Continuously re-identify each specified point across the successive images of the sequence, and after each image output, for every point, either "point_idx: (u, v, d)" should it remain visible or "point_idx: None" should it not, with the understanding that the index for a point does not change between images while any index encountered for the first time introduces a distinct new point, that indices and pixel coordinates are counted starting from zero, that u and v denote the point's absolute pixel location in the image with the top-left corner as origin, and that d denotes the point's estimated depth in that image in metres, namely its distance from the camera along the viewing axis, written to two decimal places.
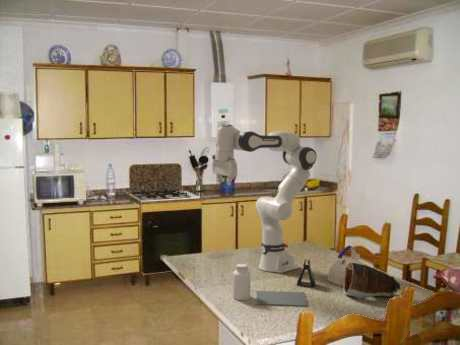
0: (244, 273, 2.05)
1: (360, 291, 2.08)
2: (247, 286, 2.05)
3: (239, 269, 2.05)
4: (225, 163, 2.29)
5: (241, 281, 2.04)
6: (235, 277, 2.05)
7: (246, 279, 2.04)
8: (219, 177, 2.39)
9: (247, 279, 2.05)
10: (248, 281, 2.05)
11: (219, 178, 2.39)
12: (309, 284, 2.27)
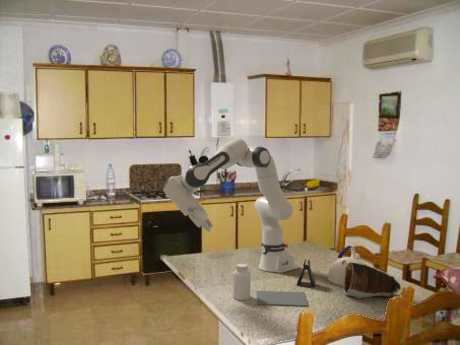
0: (244, 273, 2.05)
1: (360, 291, 2.08)
2: (247, 286, 2.05)
3: (239, 269, 2.05)
4: None
5: (241, 281, 2.04)
6: (235, 277, 2.05)
7: (246, 279, 2.04)
8: (207, 222, 2.17)
9: (247, 279, 2.05)
10: (248, 281, 2.05)
11: (208, 223, 2.17)
12: (309, 284, 2.27)
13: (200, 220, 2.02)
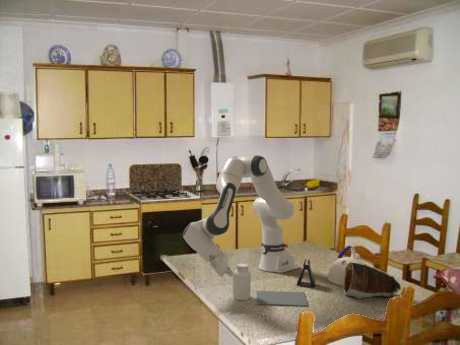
0: (244, 273, 2.05)
1: (360, 291, 2.08)
2: (247, 286, 2.05)
3: (240, 269, 2.05)
4: None
5: (241, 281, 2.04)
6: (235, 277, 2.05)
7: (246, 279, 2.04)
8: None
9: (248, 279, 2.05)
10: (248, 281, 2.05)
11: None
12: (309, 284, 2.27)
13: (222, 269, 1.98)
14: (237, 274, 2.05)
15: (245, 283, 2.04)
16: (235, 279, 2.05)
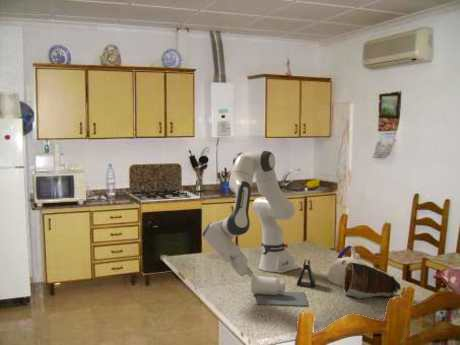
0: (277, 285, 2.08)
1: (360, 291, 2.08)
2: (264, 286, 2.08)
3: (281, 282, 2.09)
4: None
5: (271, 280, 2.09)
6: None
7: (271, 285, 2.07)
8: (247, 270, 2.09)
9: (271, 287, 2.07)
10: (269, 288, 2.07)
11: None
12: (309, 284, 2.27)
13: (243, 269, 1.97)
14: (277, 279, 2.10)
15: (268, 283, 2.08)
16: None
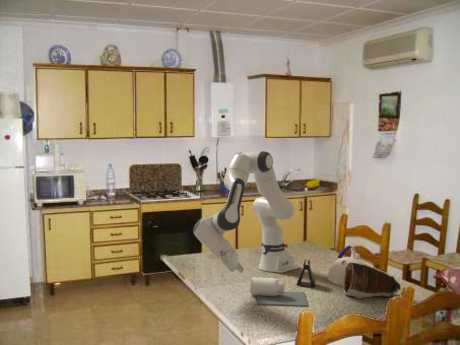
0: (277, 288, 2.06)
1: (360, 291, 2.08)
2: (263, 290, 2.07)
3: (280, 283, 2.07)
4: None
5: (269, 283, 2.07)
6: (273, 279, 2.09)
7: (270, 288, 2.06)
8: (238, 265, 2.09)
9: (270, 290, 2.06)
10: (268, 291, 2.06)
11: None
12: (309, 284, 2.27)
13: (233, 265, 1.97)
14: (276, 280, 2.08)
15: (267, 287, 2.06)
16: (271, 279, 2.09)
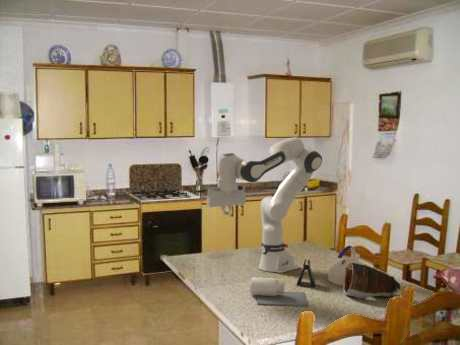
0: (277, 288, 2.06)
1: (360, 291, 2.08)
2: (263, 290, 2.07)
3: (280, 283, 2.07)
4: None
5: (269, 283, 2.07)
6: (273, 279, 2.09)
7: (270, 288, 2.06)
8: (228, 208, 2.26)
9: (270, 290, 2.06)
10: (268, 291, 2.06)
11: (228, 209, 2.26)
12: (309, 284, 2.27)
13: (209, 202, 2.19)
14: (276, 280, 2.08)
15: (267, 287, 2.06)
16: (271, 279, 2.09)
